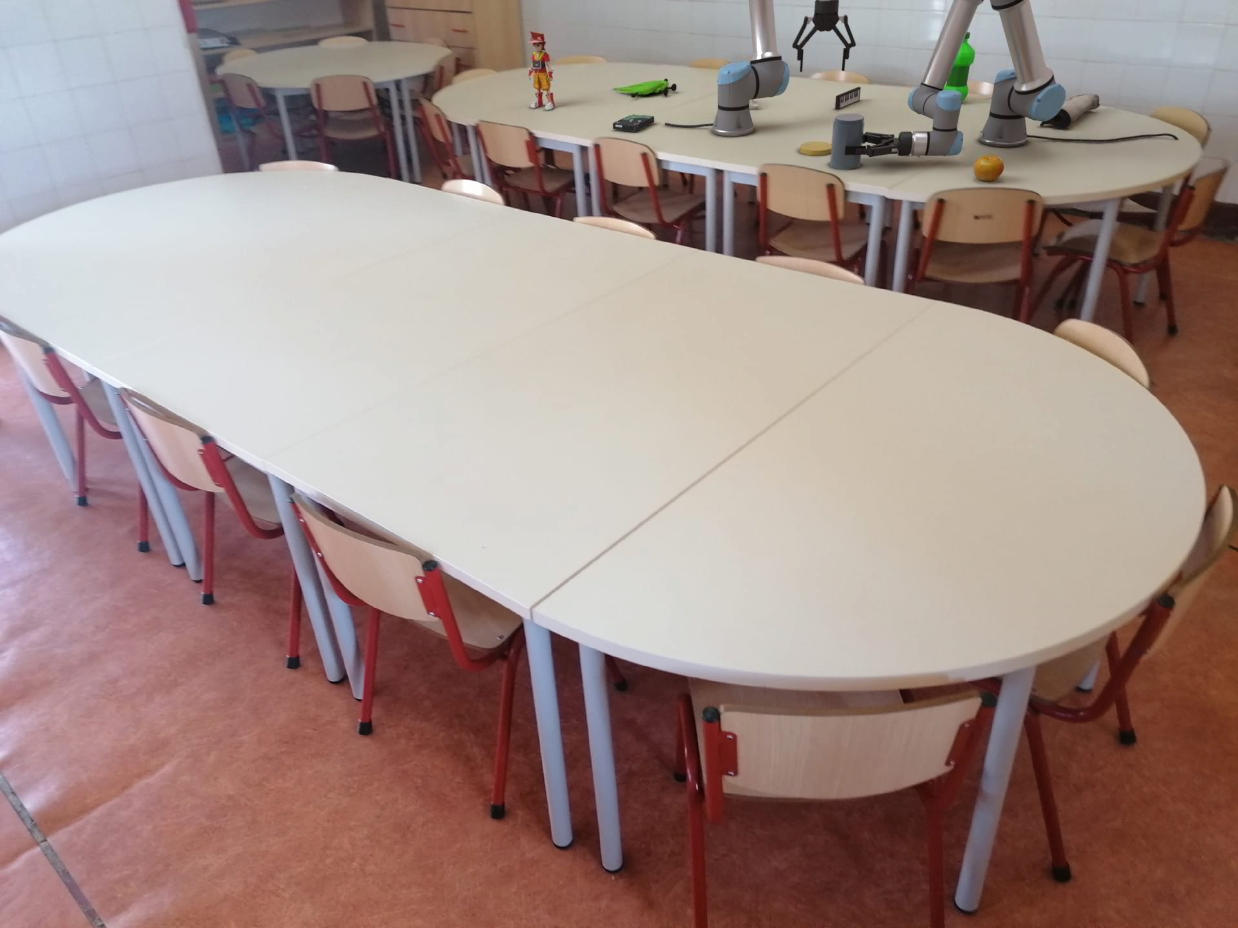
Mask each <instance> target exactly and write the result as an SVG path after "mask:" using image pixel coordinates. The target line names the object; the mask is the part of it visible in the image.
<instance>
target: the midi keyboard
mask: <svg viewBox="0 0 1238 928" xmlns="http://www.w3.org/2000/svg"><path fill="white" fill-rule="evenodd" d="M861 88H862V87H861V86H857V87H854V88H852V89H849V90H847V91H844V92H842V93H839V94H837V95H835V103H834V109H835V110H839V109H841V108H843V107H846V106H848V105H850V104H853V103H855V102H857V101H860V100H861V91H862V90H861Z"/></svg>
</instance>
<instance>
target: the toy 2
mask: <svg viewBox="0 0 1238 928" xmlns="http://www.w3.org/2000/svg"><path fill="white" fill-rule="evenodd" d="M669 85H670V83H669V79H668V78H664V79H663V80H649V81H644V82H640V83H634V84H629V85H627V86H621V87H613V88H612V89H613V90H616V91H619V92H623V93H627V94H628V93H629V94H631V95H630V96H631V98H632V99H634V98H636V96H637V95H650V94H652V93H654V94H658V93H662V95H663V96H665V97H667V96H668V95H669V90H671V91H672V92H676V91H677V84H676V83H672V84H671V86H669Z"/></svg>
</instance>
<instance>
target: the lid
mask: <svg viewBox="0 0 1238 928" xmlns="http://www.w3.org/2000/svg"><path fill="white" fill-rule="evenodd" d="M831 144H832V143H830V142H827V141H807V142H806V141H805V142H803V143H801V144H800V145H799V152H800V153H801V154H803V155H806V156H825V155H830V154H831Z"/></svg>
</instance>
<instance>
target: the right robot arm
mask: <svg viewBox="0 0 1238 928" xmlns="http://www.w3.org/2000/svg"><path fill="white" fill-rule="evenodd" d="M984 1H985V0H952V3H951V6H950V8H949V11H948V13H947V16H946V18H945V21H944V23H943V26H942V29H941V31H940V33H939V35H938V39H937V41H936V44H935V46H934V49H933V51H932V53H931V56H930V58H929V61H928V63H927V67H926V69H925V71H924V74H923V76H922V79H921V81H920V84H919V86H918V87H916V88H914V89H913V90H912V91H911V92H910V93H909V94H908V97H907V105H908V108H909V109H910V110H911V111H913V112H915V113H916V114H918V115H920V116H921V115H922V116H924V117H926V118H929V119H931V120H932V129H931V130H928V131H927V130H923V131H922V130H914V131H913V132H912V131H900V132H899V133H898V137H895V134H894V133H892V134H891V133H890V134H889V133H879V132H871V131H865V132H864V133H863V142H862V146H845V155H861V156H867V157H868V158H875V157H881V156H888V155H897V156H898V157H909V156H910V155H911V157H917V158H921V157H952V156H957V155H959V154H960V153H961V151H962V148H963V144H964V143H963V140H964V133H963V131H961V130H958V125H959V118H960V114H961V108H962V101H961V99H962V94H961V93H960V92H959V91H953V90H943V89H944V87H945V85H946V84H947V79H948V77H949V74H950V72H951V70H952V67H953V65H954V62H955V60H956V58H957V55H958V53H959V50H960V48H961V45H962V43H963V41H964V38H965V36H966V33H967V32H969V31H968V30H969V28H970V27H971V23H972V21H973V18H974V16H975V14H976V12H977V9H978V8H979V7H978V6H980V5H982V4H984ZM989 2H990V7H991V9H992V10H993V11H995V12H998V14H999V18H1000V21H1001V25H1002V28H1003V32H1004V36H1005V39H1006V43H1007V47H1008V51H1009V54H1010V59H1011V61H1012V65H1013V68H1012V69H1004V70H1000V71H998V72H997V73H996V76H995V78H994V82H993V89H992V95H991V101H990V107H989V112H988V118H987V120H986V122H985V123H984V126H983V128H982V130H980V131H979V135H978V136H979V138H978V141H979V142H980V143H981V144H983V145H986V146H990V147H996V148H1015V147H1020V146H1023V145H1025V144H1026V143H1027V140H1028V138H1030V139H1039V140H1047V141H1056V142H1078V143H1079V142H1081V143H1107V142H1109V143H1110V142H1117V141H1124V140H1132V139H1140V138H1156V137H1157V138H1158V137H1171V138H1173V139H1174V140H1175V141H1179V140H1180V139H1179V138H1178V136H1176V135H1174V134H1173V133H1167V132H1165V133H1152V134H1150V133H1149V134H1138V135H1132V136H1131V135H1130V136H1123V137H1116V138H1108V139H1107V138H1105V139H1087V138H1061V137H1060V138H1059V137H1049V136H1042V135H1032V134H1028V133H1027V122H1026V118H1027V119H1028V120H1029V119H1030V120H1032V121H1034V122H1042V121H1047V120H1049V119H1051V118H1053V117H1054V116H1055V115H1056V114H1057V113H1058V112H1059V111H1060V110H1061V107H1062V106H1063V104H1064V103H1065V102H1066V97H1067V92H1066V89H1065V87H1064V86H1063V85H1062V84H1060V83H1057V81H1056V78H1055V75H1054V74H1055V73H1054V71H1053V69H1052V68H1051V67H1047V65H1046V61H1045V57H1044V54H1043V50H1042V49H1043V48H1042V44H1041V41H1040V37H1039V34H1038V30H1037V25H1036V21H1035V17H1034V13H1033V10H1032V6H1031V1H1030V0H989ZM866 143H868V144H866ZM865 144H866V145H865ZM871 144H873V145H871Z"/></svg>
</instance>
